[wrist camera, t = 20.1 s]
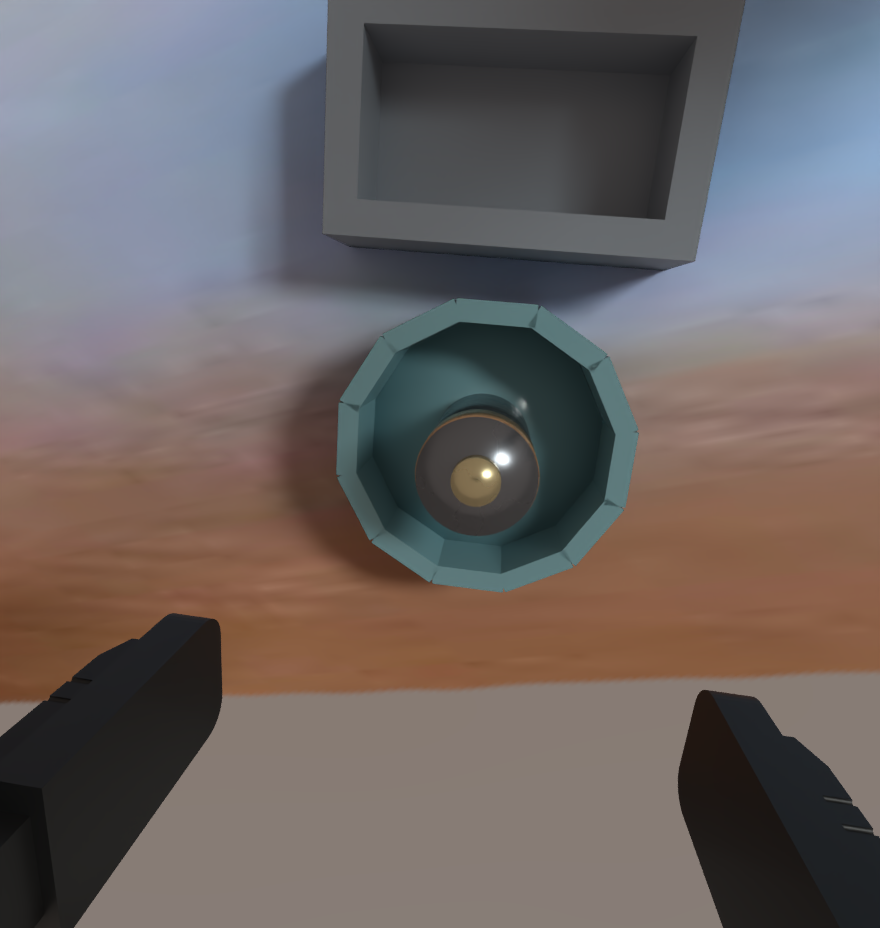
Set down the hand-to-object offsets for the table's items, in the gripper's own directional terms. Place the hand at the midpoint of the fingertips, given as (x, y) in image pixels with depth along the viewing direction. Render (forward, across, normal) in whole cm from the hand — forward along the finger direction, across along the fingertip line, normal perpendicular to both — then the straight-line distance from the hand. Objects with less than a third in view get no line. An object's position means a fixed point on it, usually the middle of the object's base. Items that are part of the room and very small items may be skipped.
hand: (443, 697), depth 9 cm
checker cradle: (+22, 0, -14) cm, 26 cm away
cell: (+21, 0, 0) cm, 21 cm away
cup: (+22, 0, 0) cm, 22 cm away
